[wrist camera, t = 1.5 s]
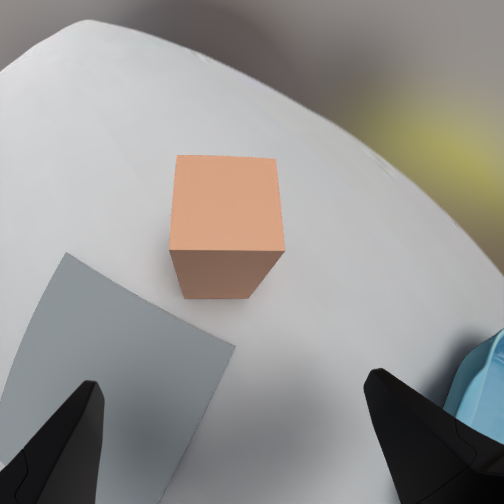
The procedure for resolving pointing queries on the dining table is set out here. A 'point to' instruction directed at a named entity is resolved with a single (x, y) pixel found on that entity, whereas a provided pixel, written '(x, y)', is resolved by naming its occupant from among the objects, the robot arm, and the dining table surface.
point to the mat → (113, 379)
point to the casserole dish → (480, 389)
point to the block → (225, 225)
